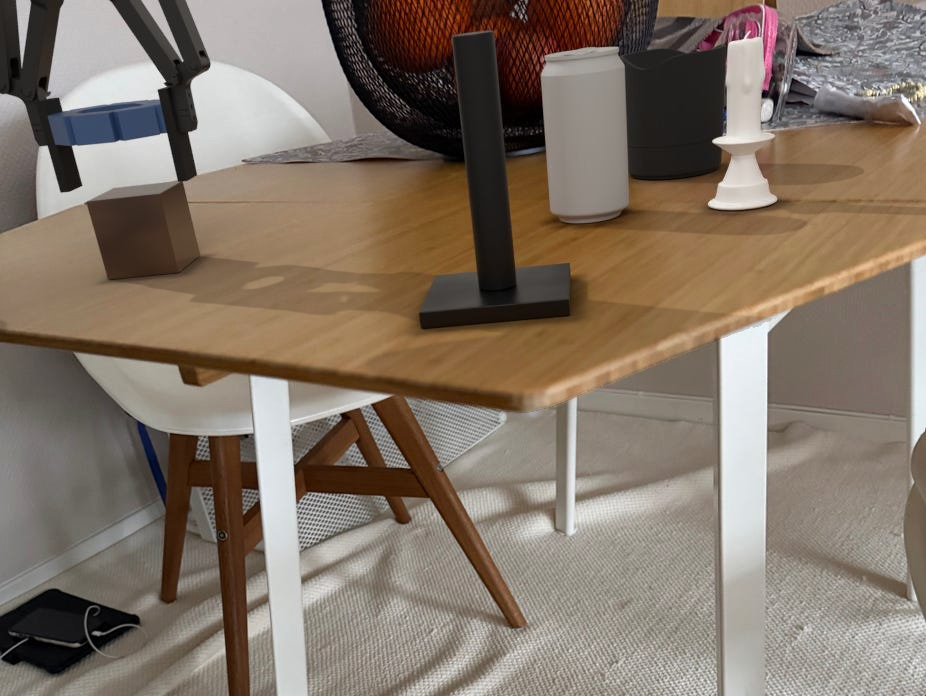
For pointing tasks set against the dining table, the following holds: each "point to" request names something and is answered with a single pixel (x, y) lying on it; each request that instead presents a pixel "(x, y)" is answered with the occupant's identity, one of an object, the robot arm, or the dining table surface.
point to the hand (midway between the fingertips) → (129, 183)
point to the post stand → (490, 213)
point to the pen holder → (674, 111)
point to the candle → (744, 129)
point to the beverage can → (586, 134)
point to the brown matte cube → (144, 230)
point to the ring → (108, 123)
